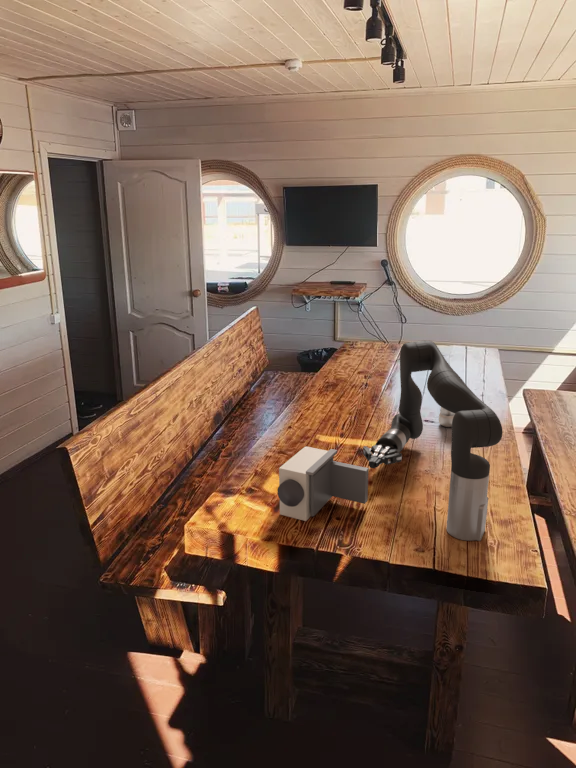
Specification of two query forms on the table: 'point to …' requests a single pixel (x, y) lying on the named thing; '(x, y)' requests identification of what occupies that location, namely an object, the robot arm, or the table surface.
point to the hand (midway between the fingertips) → (372, 465)
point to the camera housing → (300, 481)
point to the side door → (338, 484)
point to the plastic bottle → (446, 417)
